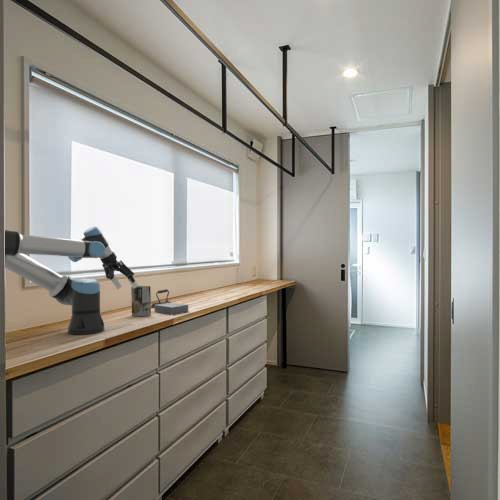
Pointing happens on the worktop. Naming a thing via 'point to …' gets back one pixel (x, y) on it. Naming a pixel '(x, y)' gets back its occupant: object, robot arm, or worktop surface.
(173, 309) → the plinth
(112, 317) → the worktop surface
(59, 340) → the worktop surface
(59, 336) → the worktop surface
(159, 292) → the clothes iron
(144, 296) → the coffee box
